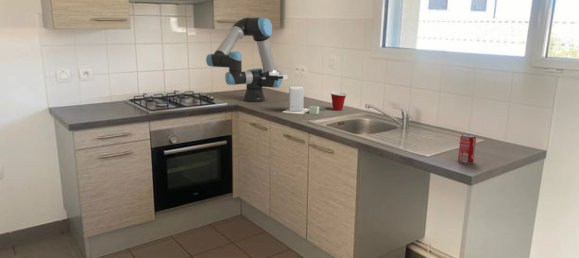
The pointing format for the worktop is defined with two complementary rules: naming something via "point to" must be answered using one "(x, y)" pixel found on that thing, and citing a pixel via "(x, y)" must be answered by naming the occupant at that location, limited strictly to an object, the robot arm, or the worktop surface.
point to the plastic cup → (338, 100)
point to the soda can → (467, 148)
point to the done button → (314, 109)
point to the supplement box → (296, 98)
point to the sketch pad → (296, 111)
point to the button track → (321, 109)
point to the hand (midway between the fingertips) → (282, 75)
